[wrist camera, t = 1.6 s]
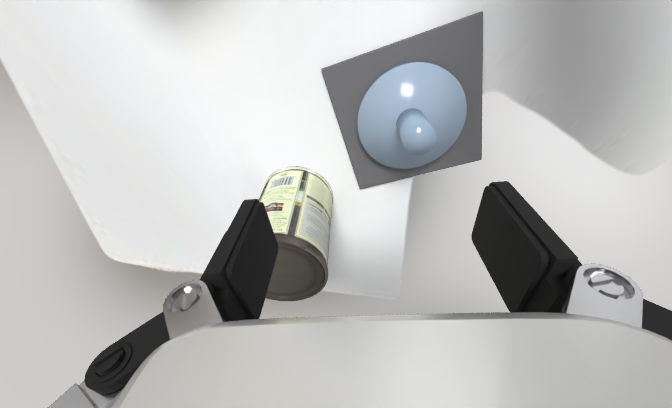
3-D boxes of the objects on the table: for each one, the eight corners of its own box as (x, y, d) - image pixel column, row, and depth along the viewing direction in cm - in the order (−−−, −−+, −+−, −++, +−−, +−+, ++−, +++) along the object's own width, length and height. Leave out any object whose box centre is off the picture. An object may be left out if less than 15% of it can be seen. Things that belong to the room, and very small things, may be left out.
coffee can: (299, 231, 43) (282, 311, 32) (250, 191, 38) (209, 269, 27) (348, 200, 39) (347, 280, 28) (298, 151, 34) (274, 223, 23)
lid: (460, 43, 26) (486, 53, 21) (464, 150, 33) (484, 176, 28) (344, 83, 28) (343, 99, 24) (370, 173, 35) (374, 201, 30)
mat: (481, 11, 24) (483, 11, 24) (480, 158, 34) (481, 159, 33) (321, 68, 28) (321, 69, 28) (359, 187, 37) (360, 189, 37)
